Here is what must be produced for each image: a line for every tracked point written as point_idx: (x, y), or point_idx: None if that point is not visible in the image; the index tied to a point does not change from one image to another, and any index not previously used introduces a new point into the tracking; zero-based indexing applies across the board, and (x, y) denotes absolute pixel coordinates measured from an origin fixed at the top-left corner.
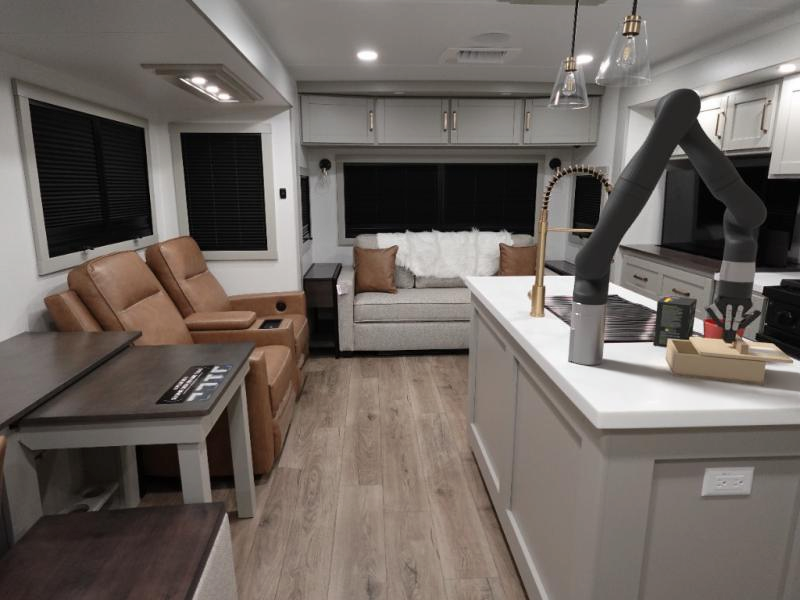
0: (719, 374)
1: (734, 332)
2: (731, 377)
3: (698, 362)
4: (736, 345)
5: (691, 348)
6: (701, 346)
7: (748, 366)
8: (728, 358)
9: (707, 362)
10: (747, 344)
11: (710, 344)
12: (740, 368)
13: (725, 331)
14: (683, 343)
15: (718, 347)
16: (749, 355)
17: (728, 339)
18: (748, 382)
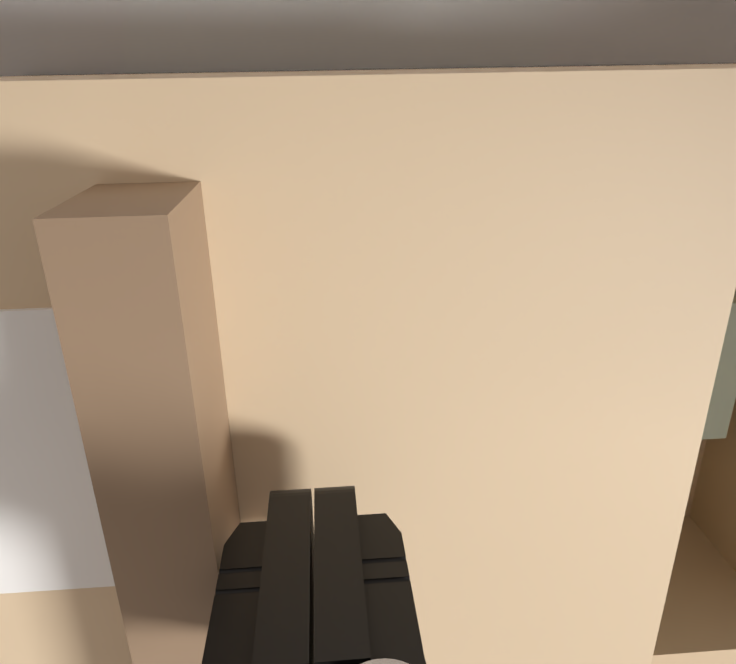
0: (420, 69)
1: (235, 652)
2: (303, 71)
3: (692, 66)
4: (218, 438)
5: None
6: (651, 382)
7: (118, 76)
8: None
9: (597, 68)
10: (53, 294)
11: (502, 514)
12: (215, 74)
13: (394, 647)
14: (663, 627)
15: (438, 415)
16: (70, 140)
17: (328, 520)
18: (147, 73)
